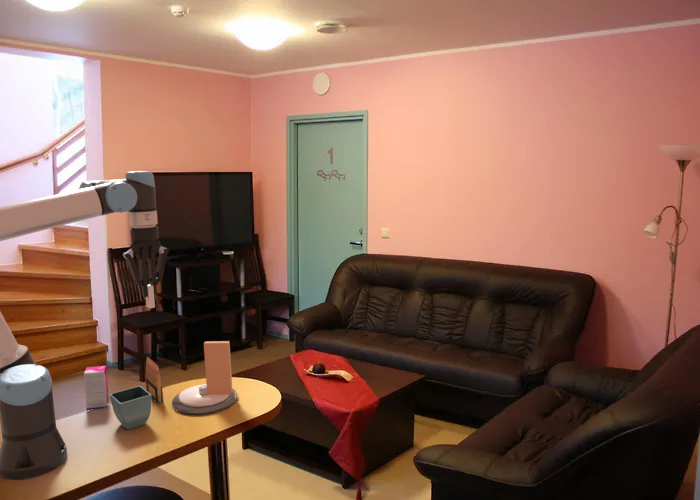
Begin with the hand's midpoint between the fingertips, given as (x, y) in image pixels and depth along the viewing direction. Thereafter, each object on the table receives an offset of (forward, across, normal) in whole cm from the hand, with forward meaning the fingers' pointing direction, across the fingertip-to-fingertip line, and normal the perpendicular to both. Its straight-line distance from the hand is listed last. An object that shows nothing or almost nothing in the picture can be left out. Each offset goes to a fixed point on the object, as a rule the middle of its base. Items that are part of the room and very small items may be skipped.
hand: (150, 307), depth 173 cm
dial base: (+30, +12, -6) cm, 33 cm away
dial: (+29, +12, -7) cm, 32 cm away
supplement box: (+31, -13, +13) cm, 36 cm away
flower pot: (+31, -10, -7) cm, 33 cm away
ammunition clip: (+31, +2, +7) cm, 32 cm away
